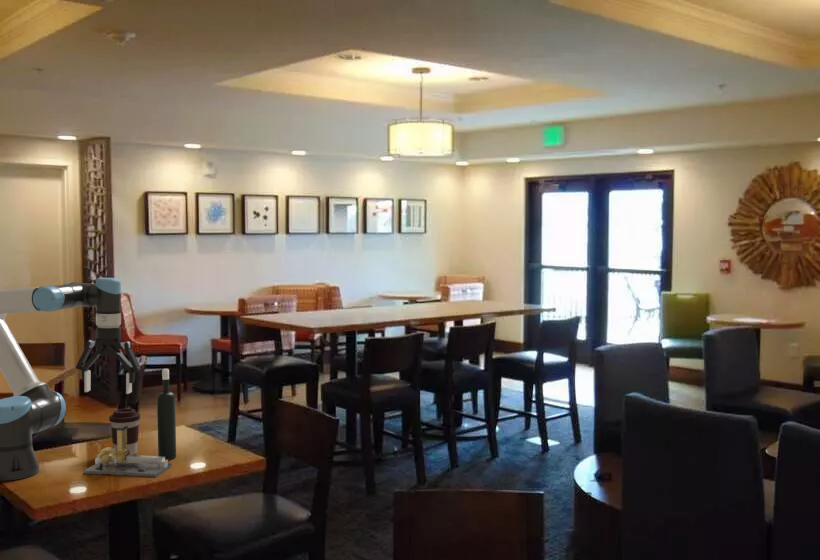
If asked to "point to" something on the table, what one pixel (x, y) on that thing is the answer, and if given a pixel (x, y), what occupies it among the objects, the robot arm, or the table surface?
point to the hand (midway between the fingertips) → (108, 392)
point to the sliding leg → (121, 445)
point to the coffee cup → (131, 420)
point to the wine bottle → (166, 420)
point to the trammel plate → (128, 464)
